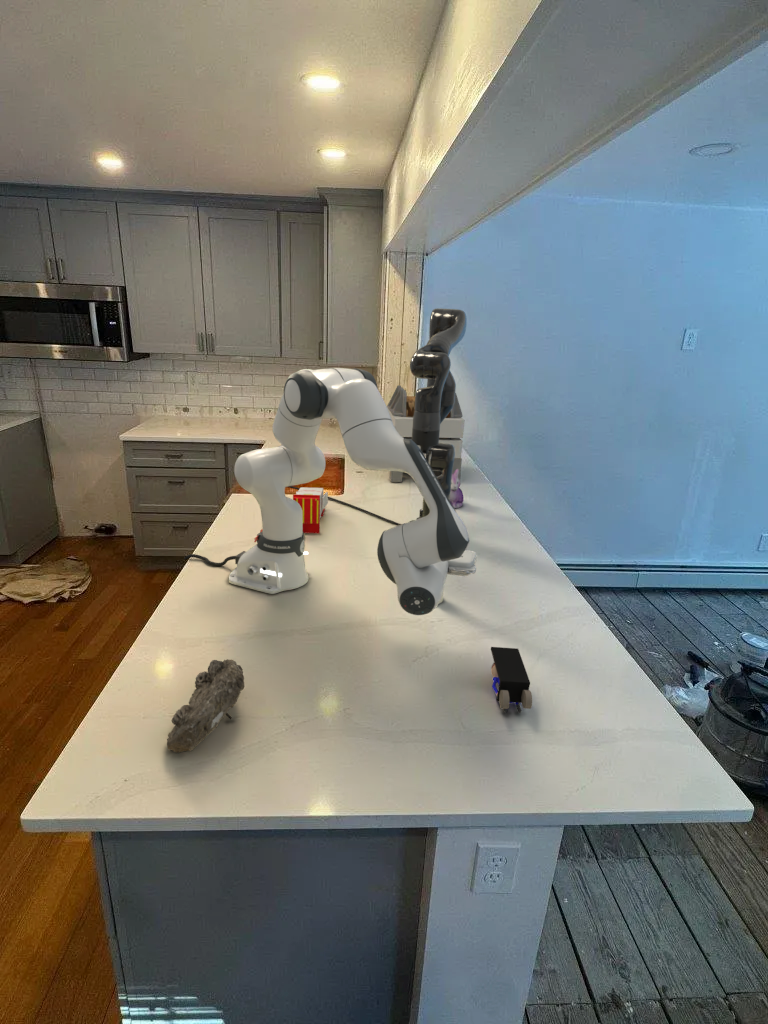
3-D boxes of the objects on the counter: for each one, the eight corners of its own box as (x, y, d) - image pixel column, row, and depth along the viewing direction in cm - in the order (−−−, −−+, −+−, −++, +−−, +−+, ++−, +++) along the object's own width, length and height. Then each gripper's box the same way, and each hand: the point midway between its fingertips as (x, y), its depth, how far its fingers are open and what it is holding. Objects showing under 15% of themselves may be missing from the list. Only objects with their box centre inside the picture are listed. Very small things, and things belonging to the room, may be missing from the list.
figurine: (450, 510, 225) (453, 474, 220) (436, 502, 234) (439, 467, 228) (469, 507, 229) (473, 472, 224) (455, 500, 238) (458, 465, 233)
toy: (329, 482, 221) (323, 496, 191) (328, 516, 224) (322, 535, 194) (297, 482, 220) (287, 495, 191) (297, 515, 223) (287, 534, 194)
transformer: (382, 463, 289) (386, 382, 275) (445, 464, 293) (451, 384, 279) (390, 482, 257) (394, 392, 243) (460, 483, 261) (468, 394, 247)
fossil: (192, 660, 117) (244, 628, 112) (224, 691, 120) (276, 661, 115) (142, 746, 98) (202, 712, 93) (182, 779, 101) (242, 748, 96)
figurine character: (531, 725, 112) (514, 671, 125) (537, 696, 108) (519, 644, 122) (497, 724, 111) (484, 671, 125) (502, 695, 108) (488, 644, 121)
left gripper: (476, 561, 122) (479, 537, 135) (383, 549, 126) (395, 528, 138) (474, 587, 124) (477, 562, 137) (382, 575, 128) (394, 551, 141)
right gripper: (413, 421, 163) (409, 475, 168) (411, 431, 149) (408, 490, 155) (439, 422, 162) (435, 477, 168) (440, 433, 149) (435, 491, 154)
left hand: (435, 544), depth 138 cm, fingers open, 8 cm apart
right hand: (422, 483), depth 161 cm, fingers open, 8 cm apart
